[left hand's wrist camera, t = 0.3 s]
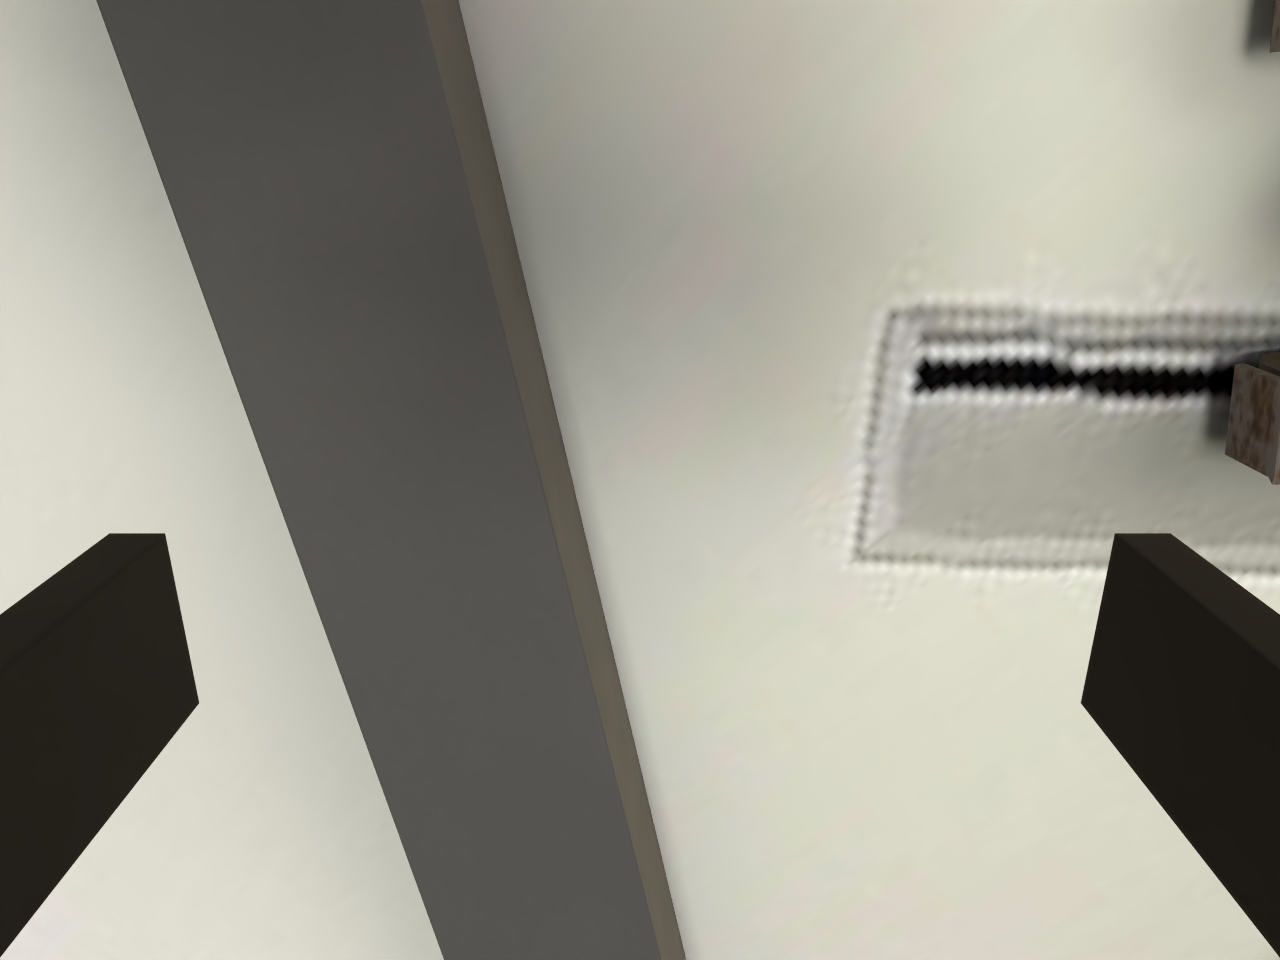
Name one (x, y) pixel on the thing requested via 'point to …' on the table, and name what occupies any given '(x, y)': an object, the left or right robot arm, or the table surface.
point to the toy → (1257, 391)
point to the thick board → (411, 448)
